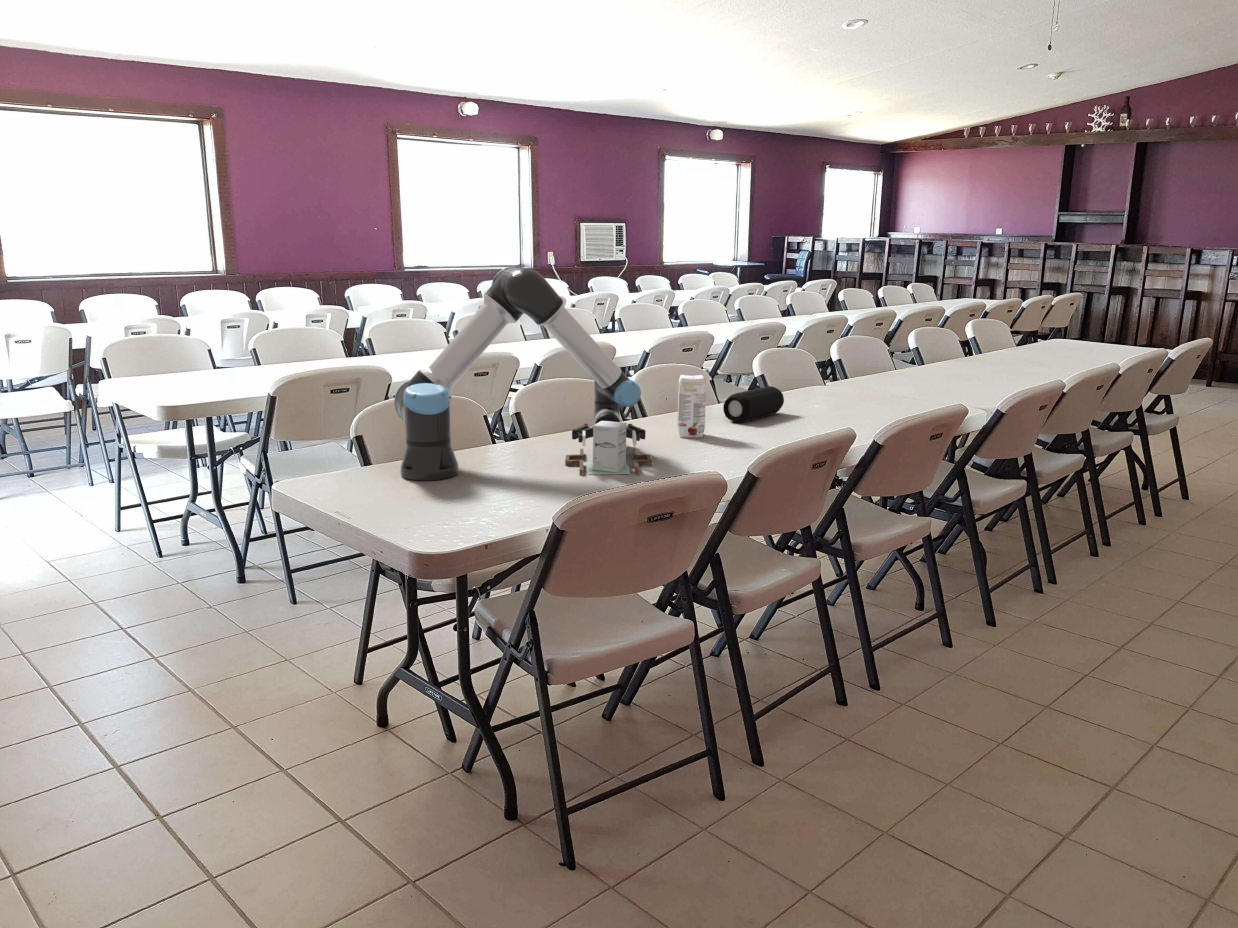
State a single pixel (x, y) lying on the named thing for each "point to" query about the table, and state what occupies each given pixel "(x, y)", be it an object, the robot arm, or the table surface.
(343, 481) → the table surface
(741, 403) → the portable speaker
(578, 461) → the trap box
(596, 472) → the pad
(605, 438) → the supplement box
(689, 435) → the juice carton
